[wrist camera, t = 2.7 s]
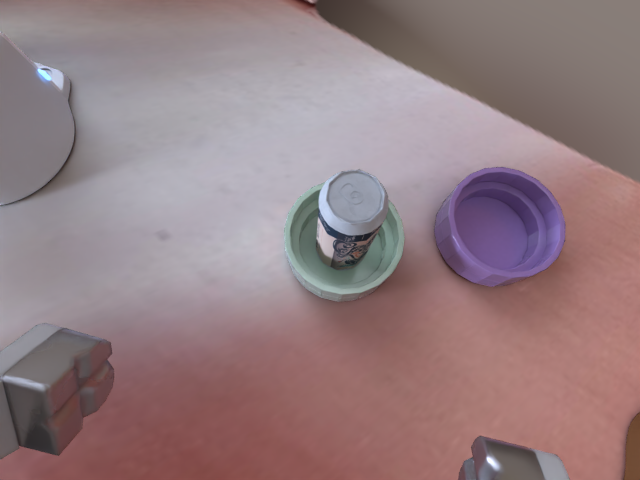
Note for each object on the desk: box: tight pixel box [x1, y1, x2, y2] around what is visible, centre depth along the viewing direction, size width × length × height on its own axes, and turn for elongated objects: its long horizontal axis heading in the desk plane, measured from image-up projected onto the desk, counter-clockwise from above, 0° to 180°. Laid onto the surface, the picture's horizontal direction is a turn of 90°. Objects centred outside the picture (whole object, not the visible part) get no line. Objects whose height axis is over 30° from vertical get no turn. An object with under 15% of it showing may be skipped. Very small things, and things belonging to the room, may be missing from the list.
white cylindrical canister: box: [316, 169, 389, 271], centre depth 31 cm, size 5×5×12 cm
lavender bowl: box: [434, 167, 565, 287], centre depth 36 cm, size 10×10×4 cm
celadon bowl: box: [284, 182, 405, 302], centre depth 36 cm, size 10×10×4 cm
